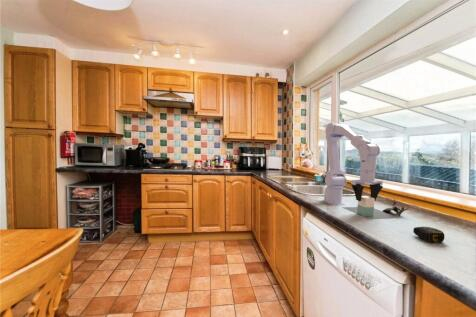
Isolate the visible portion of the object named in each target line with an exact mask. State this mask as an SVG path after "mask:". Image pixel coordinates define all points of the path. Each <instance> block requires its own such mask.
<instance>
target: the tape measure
mask: <svg viewBox="0 0 476 317" xmlns="http://www.w3.org/2000/svg"><path fill="white" fill-rule="evenodd" d="M412 232H413V234H415V236H417V237H418V238H421V239H422V240H424V241H425V242H429V243H431V242H432V243H443V242H444V240H445V234H444V231H442V230H440V229H437V228H434V227H430V226H417V227H416V226H415V227H413V231H412Z"/></svg>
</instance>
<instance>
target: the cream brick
mask: <svg viewBox="0 0 476 317" xmlns="http://www.w3.org/2000/svg"><path fill="white" fill-rule="evenodd" d="M375 202H376V201H375V198H372V197H371V196H369V195H368V196H367V195H362V197H361V201H357V206H358V205H360V206H363V207H374V208H375Z"/></svg>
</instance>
